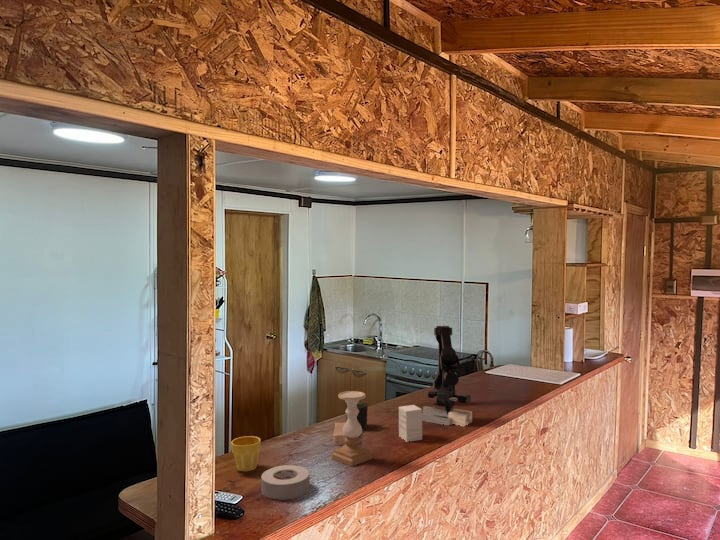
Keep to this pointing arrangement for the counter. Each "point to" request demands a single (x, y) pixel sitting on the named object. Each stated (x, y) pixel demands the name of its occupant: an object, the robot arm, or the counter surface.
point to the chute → (435, 415)
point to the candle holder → (352, 433)
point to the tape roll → (285, 482)
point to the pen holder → (361, 415)
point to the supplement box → (410, 423)
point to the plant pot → (246, 452)
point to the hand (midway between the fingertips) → (448, 415)
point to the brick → (339, 434)
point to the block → (460, 417)
